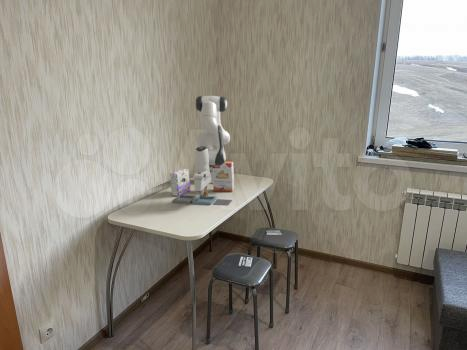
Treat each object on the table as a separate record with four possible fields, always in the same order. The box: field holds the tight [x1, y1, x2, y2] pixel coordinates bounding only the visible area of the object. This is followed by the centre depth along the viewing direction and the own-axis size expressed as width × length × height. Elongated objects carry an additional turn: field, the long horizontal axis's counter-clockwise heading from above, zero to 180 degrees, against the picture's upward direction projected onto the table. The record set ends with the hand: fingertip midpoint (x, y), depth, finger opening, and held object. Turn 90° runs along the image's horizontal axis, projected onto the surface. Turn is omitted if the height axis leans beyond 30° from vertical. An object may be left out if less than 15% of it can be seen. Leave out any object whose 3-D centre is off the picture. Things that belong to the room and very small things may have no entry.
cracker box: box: [212, 161, 235, 193], centre depth 245 cm, size 14×6×21 cm, turn 76°
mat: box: [212, 198, 233, 206], centre depth 221 cm, size 10×10×1 cm
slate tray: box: [192, 195, 217, 206], centre depth 224 cm, size 12×12×2 cm
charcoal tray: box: [172, 194, 198, 205], centre depth 228 cm, size 12×12×2 cm
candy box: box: [169, 168, 191, 197], centre depth 243 cm, size 14×6×16 cm, turn 149°
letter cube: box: [199, 189, 209, 198], centre depth 224 cm, size 4×4×4 cm
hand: (204, 193), depth 224 cm, fingers closed on letter cube, 4 cm apart
